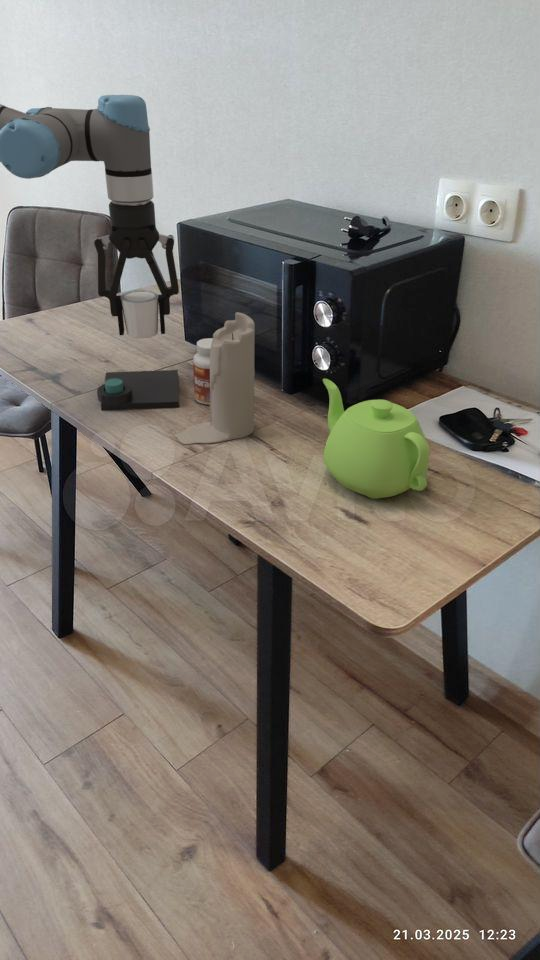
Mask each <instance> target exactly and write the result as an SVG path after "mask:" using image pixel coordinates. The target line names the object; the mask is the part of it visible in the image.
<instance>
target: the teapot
mask: <svg viewBox="0 0 540 960" xmlns="http://www.w3.org/2000/svg"><path fill="white" fill-rule="evenodd" d="M322 382H323V384H324V386H325V388H326V390H327V392H328V398H329V404H328V412H327V428H328V431H329V434H328V436H327V440H326V443H325V446H324V450H323V461H324V462H323V463H324V465H325V467H326V468H327V470H328V471H329V473H330V474H331V476H333V477H334V479H335V480H336V481H337V482H338V483H339V484H340V485H342V486H343V487H345V488H346V489H348V490H350V491H353V492H356V493H357V494H360V495H363V496H366V497H368V498H369V499H373V500H379V499H381V498H390V497H394V496H397V495H400V494H403V493H404V492H406V491H408V490H410V489H411V490H413V491H415V492H416V491H417V492H418V491H419V492H420V491H423V490H425V489H426V487H427V486H428V480H427V478H426V477H425V476H426V474H427V472H428V470H429V464H430V452H431V449H430V445H429V443H428V441H427V440H426V439H427V438H426V436H425V434H424V432H423V429H422V426H421V423H420V422H419V420H418V418H417V417H416V415H415V414H414V413H413V412H412V411H410V410H409V409H407V408H406V407H404V406H402V405H399V404H397V403H394V402H392V401H389V400H388V399H387V400H386V399H368V400H363V401H361V402H358V403H356V404H353V405H351V406H349V407H347V409H346V410H345V409H344V404H343V398H342V394H341V392H340V389H339V387H338V386H337V385H336V383H334V382H333V381H332V380H330V379H328V378H322Z"/></svg>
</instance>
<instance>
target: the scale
mask: <svg viewBox="0 0 540 960" xmlns="http://www.w3.org/2000/svg"><path fill="white" fill-rule="evenodd" d="M113 378H117V379H121V380H122V381H123V389H124V390H123V391H122V392H120V393H114V394H110V393H106V390H105V381H106V380H108V379H113ZM179 389H180V388H179V370H178V369H167V370H165V369H164V370H161V369H160V370H136V371H107V372H105V377H104V383H103V384H101V385H100V386H98V387H97V390H96V395H97V401H98V402H100V410H101V411H117V410H118V411H119V410H140V409H141V410H142V409H143V410H144V409H167V408H180V392H179V391H180V390H179Z"/></svg>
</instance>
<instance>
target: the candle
mask: <svg viewBox="0 0 540 960" xmlns="http://www.w3.org/2000/svg"><path fill="white" fill-rule="evenodd" d="M234 314H235V315H234V317H235V319H231V320H230V319H229V320H226V321H225V322H224V325H223V327H221V328H218V329H217V330H215V332H214V333H213V334H212V338H213V340H212V343H211V352H210V405H209V421H205V422H201V423H197V424H194V425H190V426H187V428H185V429H184V430H183V431H181V432H177V433H175V434H174V436H173V437H175V438H176V439H177V440H178V442H179V443H181V444H183V445H191V444H203V445H205V444H206V445H208V444H217V443H221V442H226V441H231V440H236V439H242V438H245V437H248V436H250V435H252V433H253V432H254V429H255V373H256V370H255V369H256V368H255V337H256V335H255V334H256V333H255V332H256V329H255V328H256V327H255V326H256V325H255V321H254V320H253V319H252V318H251V316H249V315H247V314H245V313H243V312H239V311H238V312H237V311H236V312H235V313H234Z"/></svg>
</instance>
